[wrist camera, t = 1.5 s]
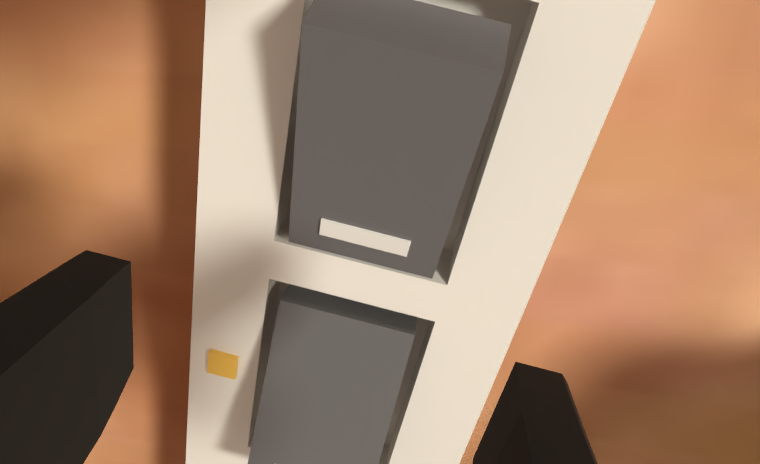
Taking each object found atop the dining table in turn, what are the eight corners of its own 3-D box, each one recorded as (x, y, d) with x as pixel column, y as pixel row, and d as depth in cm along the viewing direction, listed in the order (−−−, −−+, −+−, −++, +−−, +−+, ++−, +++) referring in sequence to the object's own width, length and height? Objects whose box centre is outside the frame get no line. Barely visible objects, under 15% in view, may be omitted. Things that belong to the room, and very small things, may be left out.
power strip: (782, -434, 12) (864, -485, 9) (401, 545, 29) (388, 633, 27) (302, -544, 12) (229, -628, 9) (213, 494, 30) (179, 577, 27)
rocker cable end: (511, 24, 13) (503, 76, 12) (441, 232, 17) (431, 281, 16) (323, -23, 13) (301, 25, 12) (305, 197, 17) (287, 243, 17)
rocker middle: (418, 309, 19) (414, 336, 17) (368, 487, 21) (362, 524, 20) (292, 276, 19) (279, 301, 18) (256, 457, 21) (241, 491, 20)
